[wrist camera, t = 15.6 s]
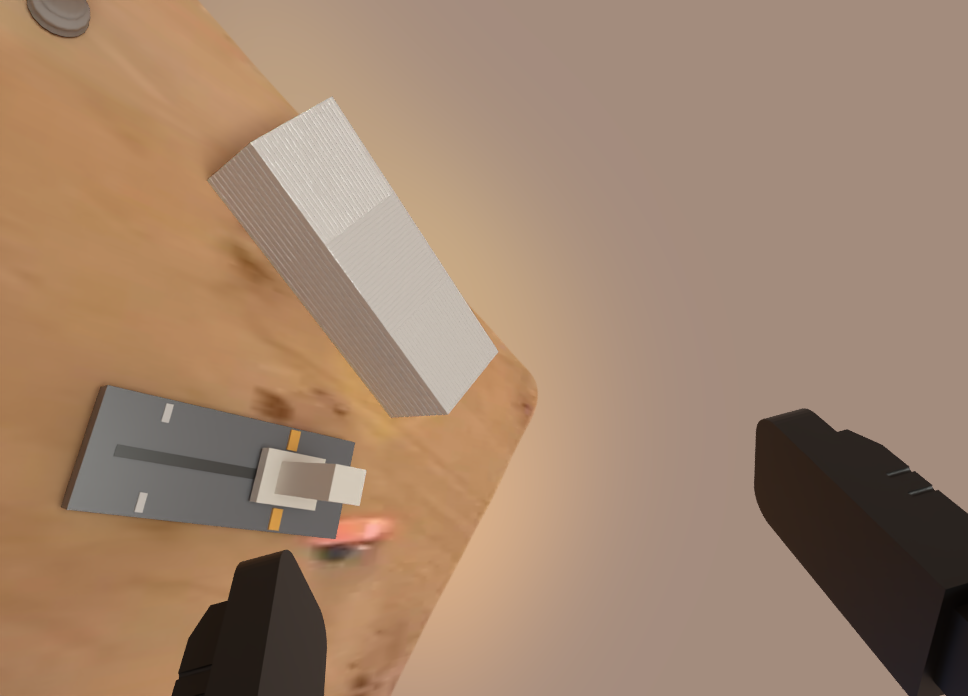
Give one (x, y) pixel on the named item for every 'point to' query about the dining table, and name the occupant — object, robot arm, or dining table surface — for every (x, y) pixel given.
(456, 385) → the stack of papers
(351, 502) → the fader tab
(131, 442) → the fader console
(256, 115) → the dining table surface
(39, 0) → the rook chess piece
